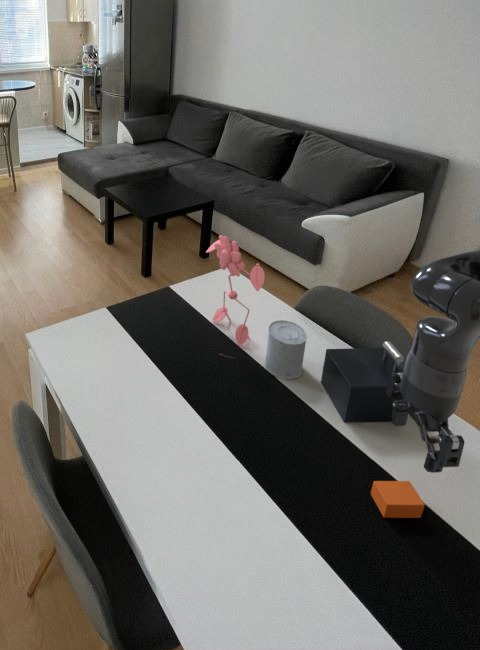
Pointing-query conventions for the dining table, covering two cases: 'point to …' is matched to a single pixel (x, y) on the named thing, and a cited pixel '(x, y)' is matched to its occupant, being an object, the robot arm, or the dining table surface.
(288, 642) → the dining table surface
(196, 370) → the dining table surface
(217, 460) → the dining table surface
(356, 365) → the bin lid
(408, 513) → the block
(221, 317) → the figurine
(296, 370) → the grey tin can
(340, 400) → the bin
